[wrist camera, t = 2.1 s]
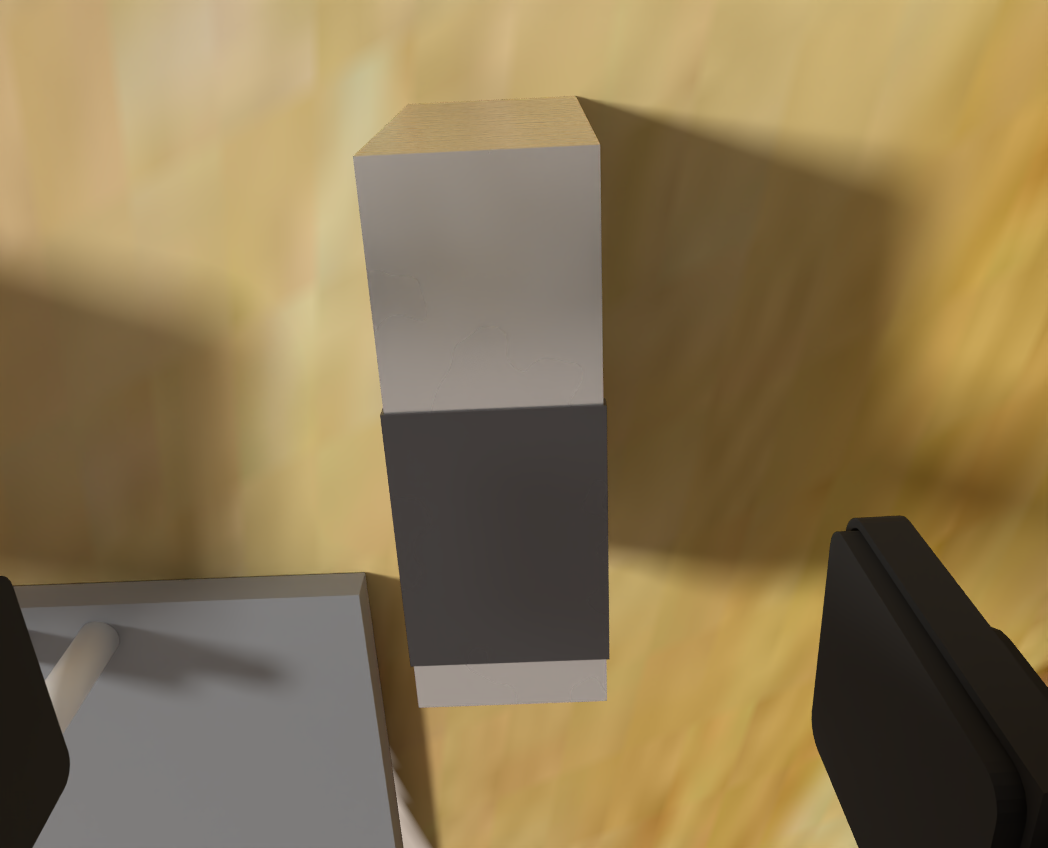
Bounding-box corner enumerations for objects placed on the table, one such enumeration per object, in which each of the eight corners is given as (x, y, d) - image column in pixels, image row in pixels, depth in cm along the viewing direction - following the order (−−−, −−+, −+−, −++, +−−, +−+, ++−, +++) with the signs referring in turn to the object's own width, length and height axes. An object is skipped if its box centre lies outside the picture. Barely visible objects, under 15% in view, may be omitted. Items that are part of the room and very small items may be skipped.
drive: (578, 95, 20) (603, 144, 13) (586, 511, 24) (609, 702, 17) (405, 103, 20) (348, 156, 13) (444, 516, 24) (415, 709, 17)
